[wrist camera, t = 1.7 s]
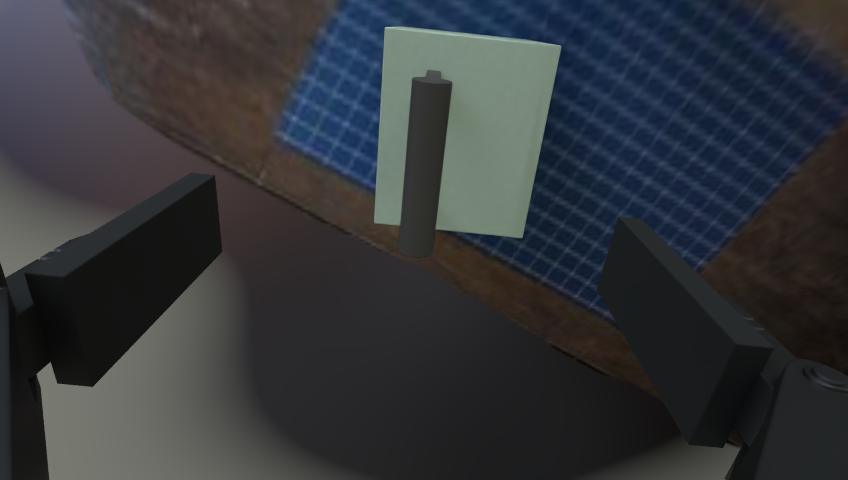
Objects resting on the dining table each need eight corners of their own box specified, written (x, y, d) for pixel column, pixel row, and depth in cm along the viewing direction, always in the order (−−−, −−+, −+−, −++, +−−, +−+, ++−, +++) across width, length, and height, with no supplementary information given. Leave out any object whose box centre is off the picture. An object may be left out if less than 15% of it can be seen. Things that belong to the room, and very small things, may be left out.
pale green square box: (607, 53, 19) (363, 27, 19) (546, 302, 24) (353, 283, 24) (526, 39, 37) (401, 26, 37) (501, 183, 42) (391, 172, 42)
